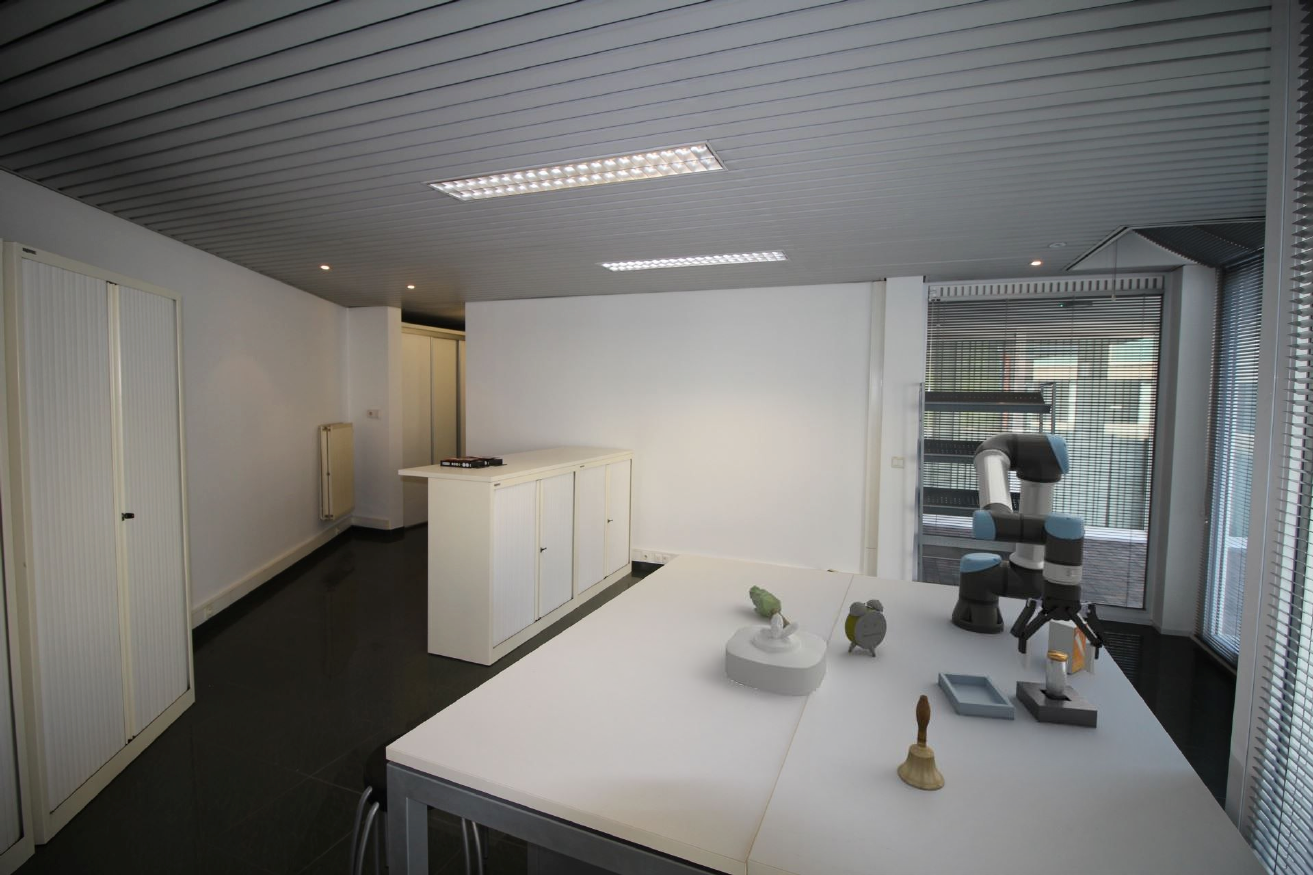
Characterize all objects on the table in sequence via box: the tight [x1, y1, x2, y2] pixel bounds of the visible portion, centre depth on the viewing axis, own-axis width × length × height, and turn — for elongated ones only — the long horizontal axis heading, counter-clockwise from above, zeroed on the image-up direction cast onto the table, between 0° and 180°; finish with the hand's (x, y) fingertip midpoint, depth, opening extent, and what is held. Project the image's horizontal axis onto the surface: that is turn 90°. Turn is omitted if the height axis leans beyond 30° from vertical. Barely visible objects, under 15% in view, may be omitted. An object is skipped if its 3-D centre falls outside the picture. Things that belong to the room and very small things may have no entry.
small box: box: [1047, 619, 1088, 675], centre depth 165 cm, size 8×6×13 cm
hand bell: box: [897, 694, 945, 791], centre depth 115 cm, size 8×8×16 cm
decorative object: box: [748, 585, 791, 629], centre depth 199 cm, size 9×10×25 cm
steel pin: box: [1045, 650, 1068, 701], centre depth 140 cm, size 4×4×14 cm
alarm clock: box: [844, 599, 888, 657], centre depth 172 cm, size 12×7×15 cm, turn 112°
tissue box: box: [724, 613, 828, 697], centre depth 160 cm, size 25×25×16 cm
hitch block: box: [1015, 680, 1098, 729], centre depth 141 cm, size 12×12×4 cm
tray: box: [937, 671, 1016, 721], centre depth 146 cm, size 16×12×3 cm
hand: (1056, 669), depth 140 cm, fingers open, 13 cm apart
